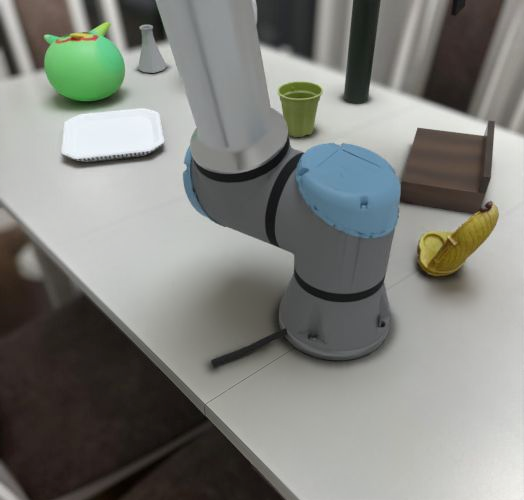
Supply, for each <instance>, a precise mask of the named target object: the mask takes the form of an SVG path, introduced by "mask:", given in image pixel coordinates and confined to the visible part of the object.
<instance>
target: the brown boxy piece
mask: <svg viewBox="0 0 524 500" xmlns="http://www.w3.org/2000/svg"><path fill="white" fill-rule="evenodd" d="M495 126H496V121H495V120H487V124H486V127H485V131H484V134H483V135H480V134H479V135H478V134H473V133H464V132H457V131H456V132H455V131H448V130H440V129H433V128H425V127H417V128H416V130H415V134H414V138H413V142H412V145H411V147H410V151H409V155H408V158H407V162H406V165H405V169H404V172H403V176H402V179H401V182H400V185H401V194H400V201H399V203H405V204H411V205H418V206H424V207H431V208H438V209H443V210H449V211H456V212H463V213H467V214H468V213H469V214H475V213H477V211H478V210H479V209H480V208H481V207H483V202H484V200H485V198H486V194H487V191H488V188H489V185H490V182H491V179H492V169H493V155H494V141H495V140H494V139H495Z"/></svg>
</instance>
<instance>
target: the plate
mask: <svg viewBox="0 0 524 500" xmlns="http://www.w3.org/2000/svg"><path fill="white" fill-rule="evenodd" d="M165 144H166V143H165V137H164V131H163V125H162V119H161V114H160V113H159V112H158V111H156V110H152V109H149V108H146V107H140V108H129V109H120V110H109V111H100V112H89V113H79V114H77V115H75V116H73V117H71V118H68V119H67V120H65V121H64V122H63V129H62V138H61V147H60V154H61V156H62V157H65V158H68V159H71V160H74V161H76V162H77V161H79V162H82V163H93V162H95V163H96V162H103V161H111V160H121V159H130V158H139V157H145V156H146V155H148V154H150V153H153V152H154V151H156V150H157V149H159V148H161V147H163V146H164V145H165Z"/></svg>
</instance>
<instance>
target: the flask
mask: <svg viewBox="0 0 524 500" xmlns="http://www.w3.org/2000/svg"><path fill="white" fill-rule="evenodd" d="M153 29H154V26H153V25H151V24H142V25H140V26H139V30H140V31H141V33H140V34H141V46H140V47H141V48H140V54H139V61H138V66H137V70H139V71H141V72H142V73H151V74H154V73H158V72H161V71H164V70H165V69H166V68H167V67H168V66H167V64H166V62H165V59H164V58H163V56H162V53H161V52H160V50H159V47H158V45H157V43H156V40H155V36H154V32H153Z"/></svg>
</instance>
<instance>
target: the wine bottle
mask: <svg viewBox="0 0 524 500" xmlns="http://www.w3.org/2000/svg"><path fill="white" fill-rule="evenodd" d="M381 2H382V0H352V7H351V17H350V18H351V19H350V27H349V38H348V49H347V59H346V69H345V80H344V89H343V90H344V91H343V100H344V101H345V102H347V103H350V104H363V103H366V102H367V101H368V100H369V96H370V95H369V94H370V87H371V78H372V71H373V63H374V57H375V49H376V48H375V47H376V41H377V40H376V39H377V32H378V25H379V18H380V11H381V4H382V3H381Z"/></svg>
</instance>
